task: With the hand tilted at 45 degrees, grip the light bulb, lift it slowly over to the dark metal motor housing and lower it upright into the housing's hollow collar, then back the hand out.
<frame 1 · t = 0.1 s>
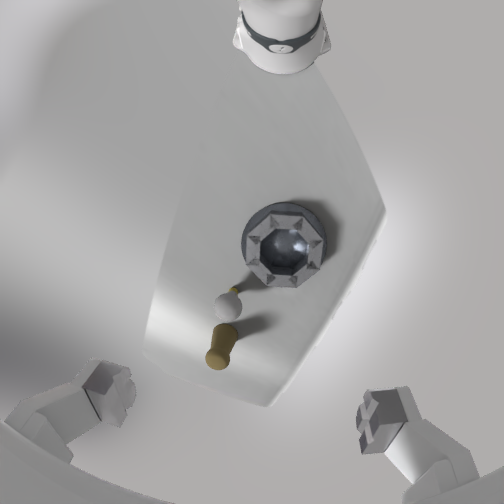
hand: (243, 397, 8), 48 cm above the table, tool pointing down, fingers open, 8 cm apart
motor housing: (284, 245, 57), on the table
light bulb: (234, 290, 61), on the table
cork: (225, 333, 66), on the table
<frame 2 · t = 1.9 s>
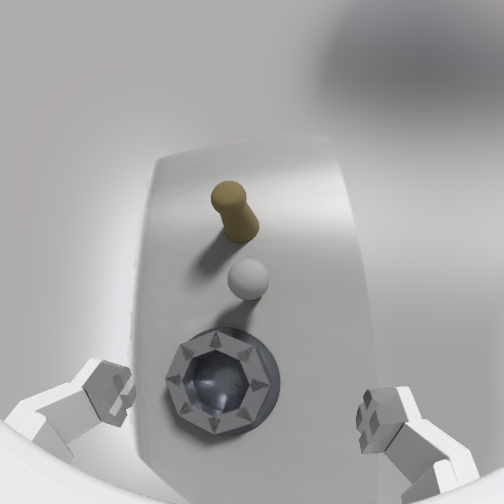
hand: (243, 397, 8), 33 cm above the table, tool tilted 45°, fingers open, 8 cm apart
motor housing: (223, 382, 40), on the table
light bulb: (257, 293, 44), on the table
cork: (242, 227, 49), on the table
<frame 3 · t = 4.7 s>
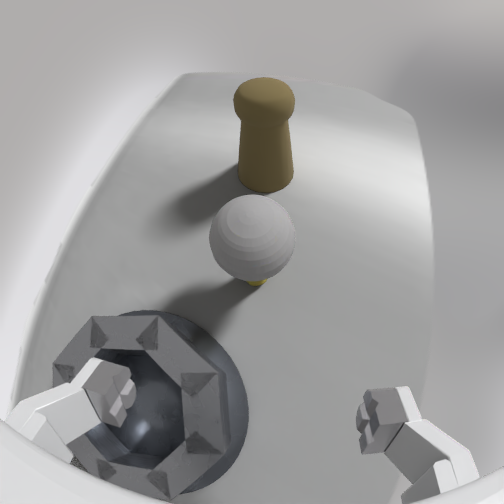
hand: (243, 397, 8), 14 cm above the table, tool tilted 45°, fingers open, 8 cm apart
motor housing: (148, 406, 20), on the table
light bulb: (256, 278, 25), on the table
cork: (265, 172, 30), on the table
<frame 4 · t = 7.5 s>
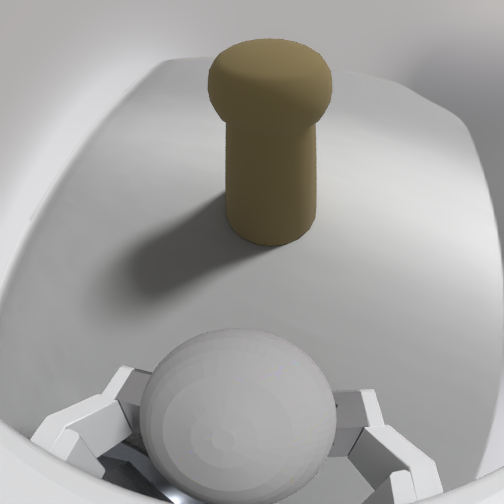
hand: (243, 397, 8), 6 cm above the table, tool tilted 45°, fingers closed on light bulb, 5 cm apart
light bulb: (251, 401, 14), on the table, touching gripper
cork: (270, 207, 19), on the table
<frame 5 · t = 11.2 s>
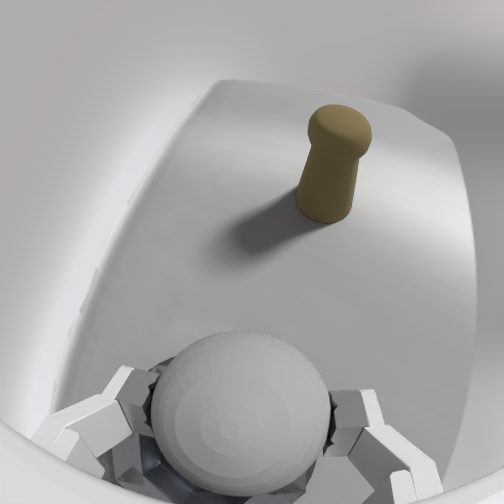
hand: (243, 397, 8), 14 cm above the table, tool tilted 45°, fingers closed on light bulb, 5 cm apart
motor housing: (212, 446, 19), on the table
light bulb: (252, 400, 14), point 7 cm above the table, touching gripper
cork: (323, 199, 29), on the table
when the fingers open (8 cm above the table, at t = 15.2 s): light bulb stays where it is, resting on motor housing.
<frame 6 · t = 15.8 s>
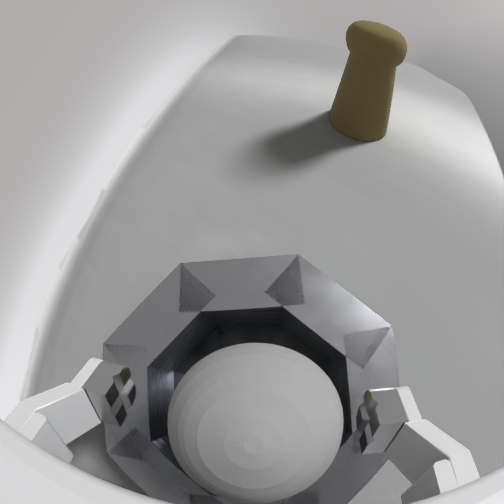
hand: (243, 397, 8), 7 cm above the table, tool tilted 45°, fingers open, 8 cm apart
motor housing: (252, 400, 15), on the table
light bulb: (257, 402, 14), resting on motor housing
cork: (357, 123, 25), on the table
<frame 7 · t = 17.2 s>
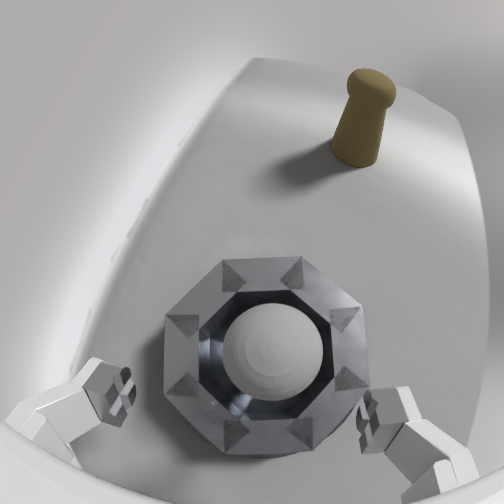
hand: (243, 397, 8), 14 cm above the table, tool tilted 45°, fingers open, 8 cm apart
motor housing: (265, 359, 22), on the table
light bulb: (269, 360, 22), resting on motor housing
cork: (354, 150, 32), on the table
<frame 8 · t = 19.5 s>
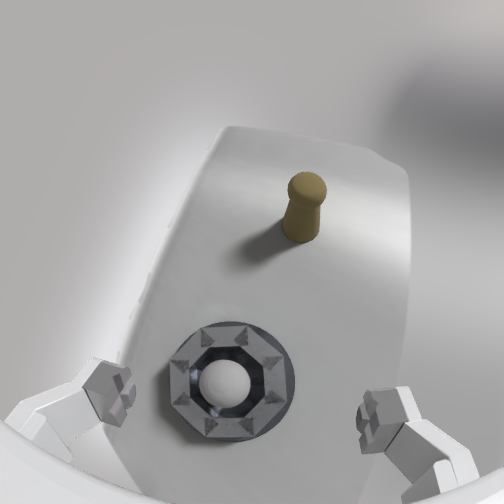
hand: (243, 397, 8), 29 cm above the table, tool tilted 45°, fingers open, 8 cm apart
motor housing: (230, 382, 35), on the table
light bulb: (233, 383, 35), resting on motor housing
cork: (300, 226, 45), on the table
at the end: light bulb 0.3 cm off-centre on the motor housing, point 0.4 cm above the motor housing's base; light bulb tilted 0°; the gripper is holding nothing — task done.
